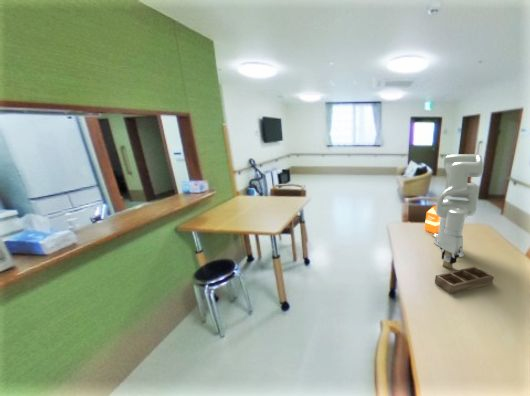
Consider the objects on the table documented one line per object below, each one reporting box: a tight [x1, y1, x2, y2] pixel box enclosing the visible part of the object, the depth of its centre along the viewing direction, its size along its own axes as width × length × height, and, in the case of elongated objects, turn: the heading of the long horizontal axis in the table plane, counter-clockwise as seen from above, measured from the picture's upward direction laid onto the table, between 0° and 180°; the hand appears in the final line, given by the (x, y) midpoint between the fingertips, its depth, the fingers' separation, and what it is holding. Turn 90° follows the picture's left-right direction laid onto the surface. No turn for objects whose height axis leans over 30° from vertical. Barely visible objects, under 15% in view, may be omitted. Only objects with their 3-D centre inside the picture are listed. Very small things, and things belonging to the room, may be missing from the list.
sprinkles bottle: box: [442, 250, 454, 268], centre depth 130 cm, size 5×4×13 cm
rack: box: [434, 265, 495, 295], centre depth 117 cm, size 9×25×4 cm, turn 103°
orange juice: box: [424, 205, 440, 234], centre depth 173 cm, size 8×9×20 cm
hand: (448, 260), depth 131 cm, fingers closed on sprinkles bottle, 4 cm apart
